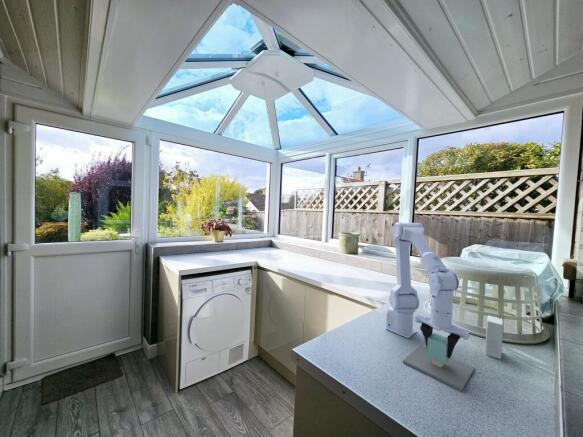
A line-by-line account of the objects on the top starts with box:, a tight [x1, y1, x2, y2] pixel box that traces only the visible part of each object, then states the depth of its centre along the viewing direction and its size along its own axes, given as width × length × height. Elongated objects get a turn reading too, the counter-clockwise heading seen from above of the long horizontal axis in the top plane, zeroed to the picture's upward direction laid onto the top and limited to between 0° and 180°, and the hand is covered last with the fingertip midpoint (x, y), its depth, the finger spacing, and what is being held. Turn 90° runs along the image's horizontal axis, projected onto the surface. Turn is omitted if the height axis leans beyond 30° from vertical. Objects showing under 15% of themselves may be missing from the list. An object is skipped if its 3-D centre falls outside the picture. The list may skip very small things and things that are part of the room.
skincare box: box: [484, 315, 504, 360], centre depth 85 cm, size 6×4×12 cm
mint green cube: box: [427, 332, 452, 364], centre depth 77 cm, size 5×5×6 cm
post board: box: [402, 344, 476, 393], centre depth 77 cm, size 16×14×6 cm
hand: (438, 352), depth 77 cm, fingers closed on mint green cube, 5 cm apart
